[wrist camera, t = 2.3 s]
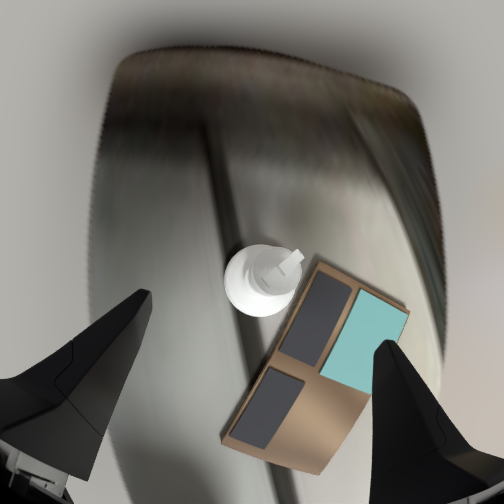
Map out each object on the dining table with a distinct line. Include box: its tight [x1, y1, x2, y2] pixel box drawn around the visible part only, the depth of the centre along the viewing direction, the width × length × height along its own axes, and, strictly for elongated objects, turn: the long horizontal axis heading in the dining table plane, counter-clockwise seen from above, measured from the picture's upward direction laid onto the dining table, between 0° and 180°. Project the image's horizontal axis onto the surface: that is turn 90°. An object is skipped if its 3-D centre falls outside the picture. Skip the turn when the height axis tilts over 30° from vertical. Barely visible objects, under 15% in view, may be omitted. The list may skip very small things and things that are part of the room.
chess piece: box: [224, 244, 305, 317], centre depth 15 cm, size 5×5×10 cm
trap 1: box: [278, 271, 353, 367], centre depth 19 cm, size 6×3×1 cm, turn 153°
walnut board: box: [221, 261, 410, 475], centre depth 19 cm, size 15×8×1 cm, turn 153°
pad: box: [319, 289, 408, 394], centre depth 19 cm, size 7×5×1 cm
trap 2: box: [229, 367, 305, 450], centre depth 18 cm, size 6×3×1 cm, turn 153°
